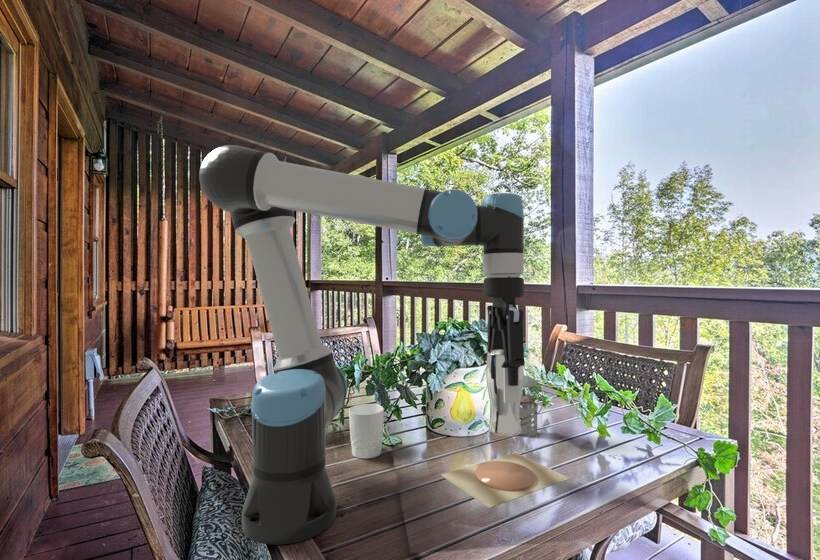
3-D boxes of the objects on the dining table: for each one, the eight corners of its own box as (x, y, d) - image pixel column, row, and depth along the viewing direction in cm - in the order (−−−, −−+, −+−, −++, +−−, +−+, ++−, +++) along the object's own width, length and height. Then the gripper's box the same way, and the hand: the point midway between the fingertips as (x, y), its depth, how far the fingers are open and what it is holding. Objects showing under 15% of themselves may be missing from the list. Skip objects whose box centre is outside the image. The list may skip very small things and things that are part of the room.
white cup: (342, 456, 97) (341, 411, 97) (361, 443, 104) (361, 402, 104) (371, 462, 93) (371, 416, 93) (390, 449, 100) (390, 406, 100)
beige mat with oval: (488, 516, 72) (488, 507, 72) (440, 482, 84) (440, 474, 84) (570, 486, 82) (569, 478, 82) (516, 459, 94) (516, 452, 94)
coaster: (484, 492, 77) (484, 489, 77) (469, 465, 88) (469, 462, 88) (544, 488, 78) (544, 485, 78) (521, 462, 89) (521, 459, 89)
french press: (492, 433, 110) (492, 335, 109) (527, 426, 115) (527, 332, 115) (519, 447, 101) (518, 340, 101) (555, 438, 106) (555, 336, 106)
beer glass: (496, 438, 79) (496, 356, 78) (480, 425, 85) (480, 349, 85) (531, 434, 81) (530, 354, 80) (512, 422, 87) (512, 347, 87)
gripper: (544, 276, 73) (545, 411, 74) (505, 276, 93) (506, 383, 93) (501, 276, 73) (502, 413, 73) (471, 276, 92) (472, 384, 92)
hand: (504, 396), depth 83 cm, fingers closed on beer glass, 7 cm apart
